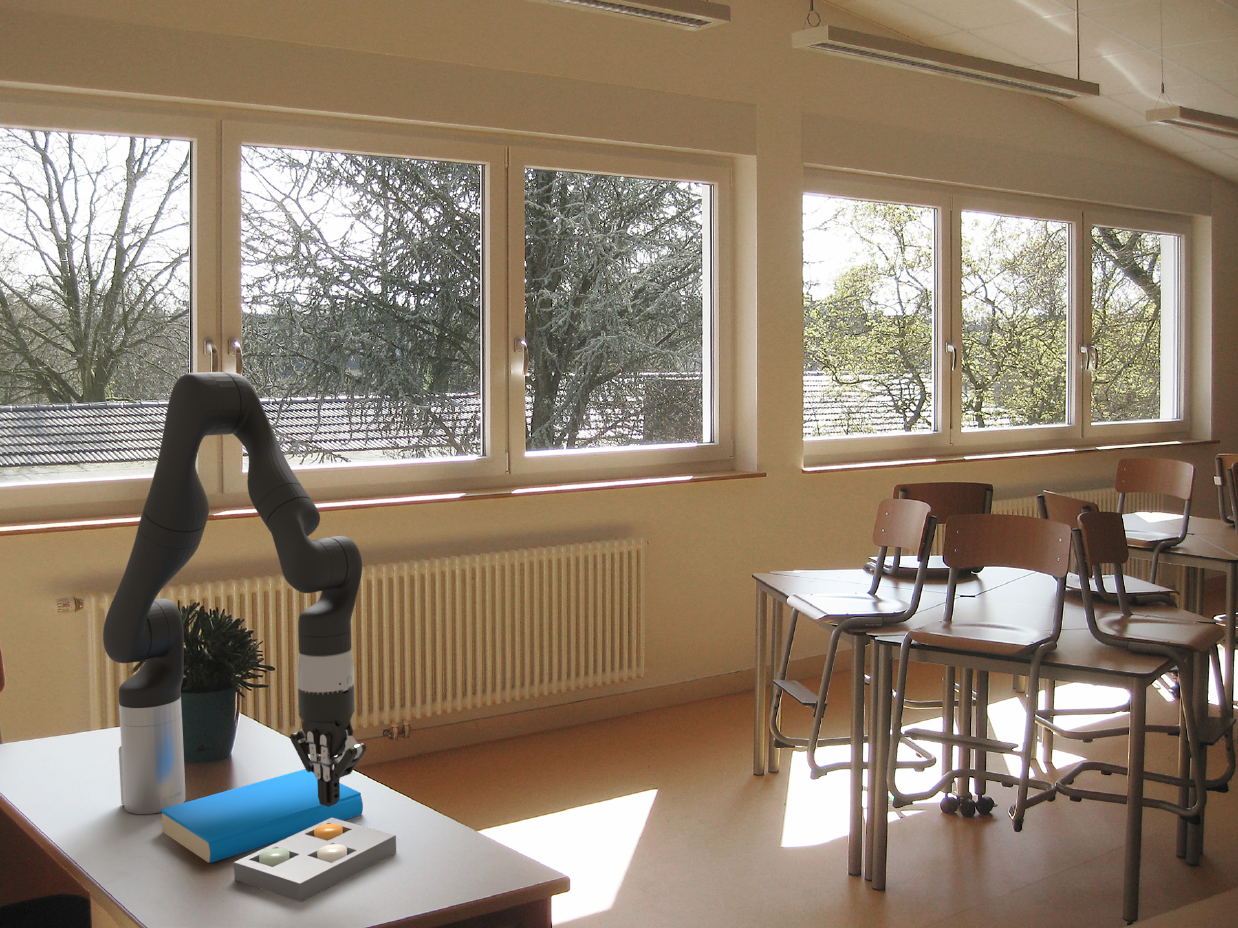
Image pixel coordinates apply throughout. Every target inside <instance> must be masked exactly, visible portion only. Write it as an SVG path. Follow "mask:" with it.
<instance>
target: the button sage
mask: <svg viewBox="0 0 1238 928" xmlns="http://www.w3.org/2000/svg"><path fill="white" fill-rule="evenodd" d="M289 859H290V857H289V850H287V849H284V848H274V849H269V850H266V851H264V852H262V853H261V854H260V855H259V863H261V864H264V865H267V866H271V867H274V866H276V865H278V864H280V863H282V862H284V861H287V860H289Z"/></svg>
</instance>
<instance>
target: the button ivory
mask: <svg viewBox="0 0 1238 928" xmlns="http://www.w3.org/2000/svg"><path fill="white" fill-rule="evenodd" d="M345 856H347V847H346V846H344V845H340V844H331V845H326V846H323V847H321V848H320V849H318V851H317V859H320V860H323V861H327V862H330V863H333V862H335V861H337V860H339V859H341V858H343V857H345Z"/></svg>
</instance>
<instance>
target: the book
mask: <svg viewBox="0 0 1238 928" xmlns="http://www.w3.org/2000/svg"><path fill="white" fill-rule="evenodd" d="M339 783H340V798H339V800H338V802H337V803H336V804H334V805H332V806H330V807H327V806H324V805H320V803H319V798H318V783H317V779H316V777H315V774H314V773H313V772H307V771H306V769H305V768H304V769H301V770H297V771H294V772H290V773H287V774H282V775H279V776H274V777H272V778H268V779H265V780H261V781H258V782H254V783H251V784H250V783H249V784H246V785H243V786H239V787H236V788H232V789H228V790H225V791H222V792H218V793H213V794H211V795H208V796H203V797H200V798H196V799H194V800H193V799H192V800H190V801H184V803H181V804H178V805H174V806H171V807H167V808H164V809H161V812H160V813H161V817H162V819H161V822H162V833H164V834H165V835H167V836H168V837H169V838H171V839H173V840H174V841H176V843H178V844H180V845H181V846H183V847H185V848H186V849H187V850H189V851H190V852H192V853H193V854H195V855H197V856H198V857H199V858H201V859H202V860H204V861H205V862H207V863H209V864H212V863H215V862H218V861H221V860H225V859H227V858H231V857H234V856H237V855H240V854H244V853H246V852H249V851H252V850H256V849H258V848H259V849H260V848H262V847H265V846H267V845H268V846H269V845H272V844H275V843H277V842H279V841H281V840H284V839H286V838H288V837H290V836H292V835H295V834H297V833H299V832H301V831H303V830H306V829H308V828H310V827H312V826H314V825H317V824H319V823H321V822H323V821H325V820H328V819H330V818H335V819H339V820H342V821H345V820H348V819H351V818H354V817H357V816H361V815H363V810H364V802H363V798H362V794H361V792H360V791H358V790H356V789H353V788H351V787H349V786H347V785H345V784H343V783H341V782H339Z"/></svg>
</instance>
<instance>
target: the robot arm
mask: <svg viewBox="0 0 1238 928" xmlns="http://www.w3.org/2000/svg"><path fill="white" fill-rule="evenodd" d="M219 435H220V436H223V435H233V436H235V438H236V439H238V441H239V442H240V443H241V444H242V445H243V447H244V448H245V450H246V452H247V453H246V454H247V455H248V456H247V457H248V470H247V483H246V484H247V492H248V495H249V498H250V501H251V503H252V505H253V507H254V508H255V510H256V512H257V513H258V515H259V517H260V518H261V520H262V522H263V523H264V524H265V526H266V528H267V529H268V530H269V532H270V534H271V536H272V540H273V543H274V546H275V550H276V553H277V556H278V561H279V564H280V568H281V572H282V576H283V577H284V579H285V581H286V582H287V583H288V585H289V586H290V587H292V588H293V589H294V590H296V591H298V592H299V593H302V594H312V593H313V594H314V593H318V592H321V593H320V596H319V598H318V600H317V601H316V603H314V604H312V605H311V606H309V607H307V608H305V609H304V610H302V611H301V612H300V614H299V617H298V621H297V625H298V626H297V628H298V629H297V631H298V633H297V635H298V660H297V669H296V671H297V699H298V701H297V702H298V705H297V706H298V708H297V709H298V716H299V718H300V720H302V722H301V728H300V729H299V730H298V731H296V732H294V733H291V734H290V736H289V740H290V741H291V743H292V746H293V747H294V749H295V751H296V753H297V755H298V758H300V761H301V763H302V765H303V767H304V769H306V771H307V772H313V773H314V774H315V777H316V779H317V783H318V798H319V803H320V805H324V806H327V807H330V806H332V805H334V804H336V803H337V802H338V800H339V798H340V783H341V782H340V779H342V778H343V777H345V776H349V775H351V774H352V773H353V771H354V770H355V768H356V766H357V765H358V763H359V761H360V760H361V759H362V757H363V756H364V754H365V752H366V751H367V746H366V744H365V743H363V742H361V743H358V742H357V740H356V739H355V738H354V729H353V726H352V723H351V719H352V717H353V715H354V714H355V711H356V710H355V709H356V707H355V706H356V705H355V701H356V700H355V669H354V668H355V666H354V665H355V663H354V659H353V652H352V650H353V649H352V624H351V623H352V615H353V612H354V608H355V605H356V600H357V595H358V593H359V592H358V591H359V589H360V585H361V579H362V574H363V559H362V556H361V555H362V554H361V552H360V550H359V547H358V545H357V544H356V543H355V542H354V541H353V540H352V539H351V538H349V537H348V536H345V535H344V536H343V535H336V536H329V537H323V538H317V539H310V538H309V536H310V535H312V534H313V533H314V532H315V531H316V530H317V528H319V525H320V521H321V516H320V512H319V510H318V508H317V506H316V505H315V503H314V501H313V500H312V498H311V497H310V495H309V494H308V492H307V490H305V488H304V487H303V485H302V483H300V480H299V479H298V478H297V476H296V474H295V473H294V471H293V469H292V468H291V467H290V464H289V463H288V461H287V459H286V457H285V455H284V452H283V451H282V448H281V446H280V443H279V441H278V438H277V437H276V434H275V431H274V429H273V426H272V424H271V422H270V420H269V418H268V416H267V413H266V411H265V408H264V406H263V404H262V402H261V400H260V398H259V394H257V392H256V389H255V388H254V386H253V385H252V384H251V382H250V381H249V380H248V379H247V378H246V377H245V376H244V375H242V374H241V373H236V372H231V371H209V372H208V371H206V372H205V371H204V372H202V371H201V372H200V371H199V372H197V371H196V372H189V373H184V374H183V375H181V376H180V377H179V378H178V379H177V380H176V382H175V383H174V385H173V388H172V390H171V393H170V396H169V400H168V403H167V410H166V414H165V421H164V426H163V431H162V437H161V442H160V443H161V444H160V448H159V449H160V450H159V454H158V457H157V462H156V466H155V470H154V474H153V478H152V481H151V484H150V488H149V491H148V494H147V497H146V500H145V503H144V505H143V508H142V509H143V510H142V513H141V517H140V519H139V523H138V527H137V530H136V534H135V535H136V536H135V538H134V543H133V546H132V549H131V551H130V555H129V558H128V562H127V564H126V567H125V571H124V573H123V576H122V578H121V580H120V583H119V586H118V587H117V590H116V592H115V594H114V597H113V599H112V602H111V603H110V605H109V608H108V611H107V613H106V617H105V621H104V624H103V632H102V640H103V641H102V642H103V647H104V651H105V652H106V655H107V656H108V658H109V659H110V660H111V661H113V662H116V663H118V664H130V663H133V664H134V663H137V662H141V661H144V664H143V665H142V666H141V668H140V669H139V670H138V671H137V672H136V673H135V674H133V675H132V676H131V677H129V678H128V679H126V680H125V681H123V683H121V684H120V686H119V687H118V709H119V726H120V743H121V744H120V746H119V747H118V761H119V762H118V763H119V783H120V784H119V785H120V802H121V803H120V804H121V805H123V806H124V808H123V809H124V810H125V811H126V812H128V813H131V814H135V815H149V814H158V813H162V812H161V809H164V808H167V807H171V806H174V805H178V804H181V803H185V802H186V782H185V781H186V779H185V776H186V775H185V773H186V772H185V756H184V755H185V754H184V736H183V735H184V734H183V733H184V732H183V716H182V715H183V714H182V713H183V711H182V694H181V693H182V692H181V691H182V690H181V688H182V684H183V681H184V654H185V653H184V647H185V645H184V644H185V643H184V642H185V641H184V640H185V638H184V635H185V634H184V633H185V632H184V631H185V630H184V623H183V619H182V614H181V612H180V610H179V608H178V606H177V605H176V603H175V602H174V601H173V600H172V599H169V598H163V597H162V598H157V596H158V595H159V593H160V592H161V591H162V589H164V587H165V586H166V585H167V584H168V583H169V582H170V581H171V580H172V579H173V578H174V577H175V576H176V575H177V574H178V573H179V571H181V569H183V568H184V566H186V565H187V563H188V562H189V561H190V560H191V559H192V558H193V556H194V555H195V553H196V552H197V550H198V548H199V546H200V544H201V541H202V538H203V534H204V532H205V529H206V525H207V523H208V519H209V518H208V517H209V515H210V514H209V513H210V505H209V499H208V496H207V494H206V491H205V488H204V487H203V485H202V482H201V479H200V476H199V474H198V472H197V468H196V465H197V458H198V454H199V449H200V446H201V444H202V441H203V439H204V438H205V437H207V436H219Z"/></svg>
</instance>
